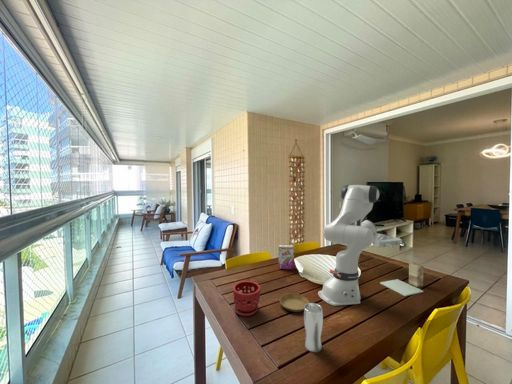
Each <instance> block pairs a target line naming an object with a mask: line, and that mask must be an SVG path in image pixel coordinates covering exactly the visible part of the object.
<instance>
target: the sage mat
mask: <svg viewBox="0 0 512 384" xmlns="http://www.w3.org/2000/svg"><path fill="white" fill-rule="evenodd" d="M379 284H381V285H382V286H384V287H386V288H388V289H390V290H392V291H394V292H396V293H398V294H400V295H401V296H404V297H408V296H412V295H417V294H421V293H424V290H422V289H420V288H418V287H416V286H413V285H411V284H409V283H407V282H405V281H402V280H400V279H398V278H396V279H391V280H385V281H380V282H379Z"/></svg>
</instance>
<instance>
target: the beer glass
mask: <svg viewBox="0 0 512 384" xmlns="http://www.w3.org/2000/svg"><path fill="white" fill-rule="evenodd" d="M303 324H304V330H305V342H304V346H305V348H306V350H307V351H309V352H312V353H319V352H320V351H321V350H322V346H323V345H322V342H321V341H322V339H321V338H322V337H321V336H322V331H323V326H324V325H323V324H324V316H323V307H322V306H321V305H320V304H318V303H315V302H309V303H307V304H306V305H305V306H304V310H303Z"/></svg>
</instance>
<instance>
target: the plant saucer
mask: <svg viewBox="0 0 512 384" xmlns="http://www.w3.org/2000/svg"><path fill="white" fill-rule="evenodd" d="M279 303H280V305H281V306H282V307H283V308H284V309H285V310H287V311H290V312H293V313H298V312H302V311H303V312H304V306H305V305H306V304H307V303H310V300H309V299H308V298H307V297H305V296H304V295H302V294H299V293H285V294H283V295H281V296H280V298H279Z"/></svg>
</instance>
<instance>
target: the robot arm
mask: <svg viewBox="0 0 512 384" xmlns="http://www.w3.org/2000/svg"><path fill="white" fill-rule="evenodd" d="M379 197H380V190H379V188H378V187H377V186H374V185H367V184H366V185H363V184H351V185H350V184H345V185H343V186H342V187H341V189H340V198H341V199H342V200H343V201H342V206H341V209H340V212H339V214H338V216H337V217H335V219H334V220H333V221H331V222H330V223H327V224H326V225H325V226H324V228H323V232H322V233H323V237H324V239H325V240H326V241H328V242H331V243H334V244H339V245H344V246H346V249H343V250H340V251H338V252H337V254H336V256H335V268H334V269H332V268H330V269H329V273H330V274H332V276H331V277H330V278H329V279H327V280H326V281H325V282H324V283H323V285H322V289H321V290H319V291H318V292H317V294H318V296H319V298H320V299H322V301H324V302H325V303H327V304H329V305H331V306H334V307H335V306H347V305H348V306H349V305H359V304H361V299H362V297H361V291H360V288H359V276H360V275H359V273H360V272H359V259H360V255H361V253H362V252H363V251H364V250H366V249H367V248H369V247H370V246H372V245H373V246H375V247H377V248H391V249H392V248H394V247H395V246H401V247H404V246H405V243H404V242H403V239H402V238H398V237H396V236H392V234H383V233H378V230H377V226H376V224H375V223H374V222H373V221H371V220H370V219H366V220H364V219H365V217H366V216H367V215H368V214H369V213H370V212H371V211H372V210H373V206H374V203H376V202H378V199H379ZM363 220H364V221H363Z"/></svg>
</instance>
